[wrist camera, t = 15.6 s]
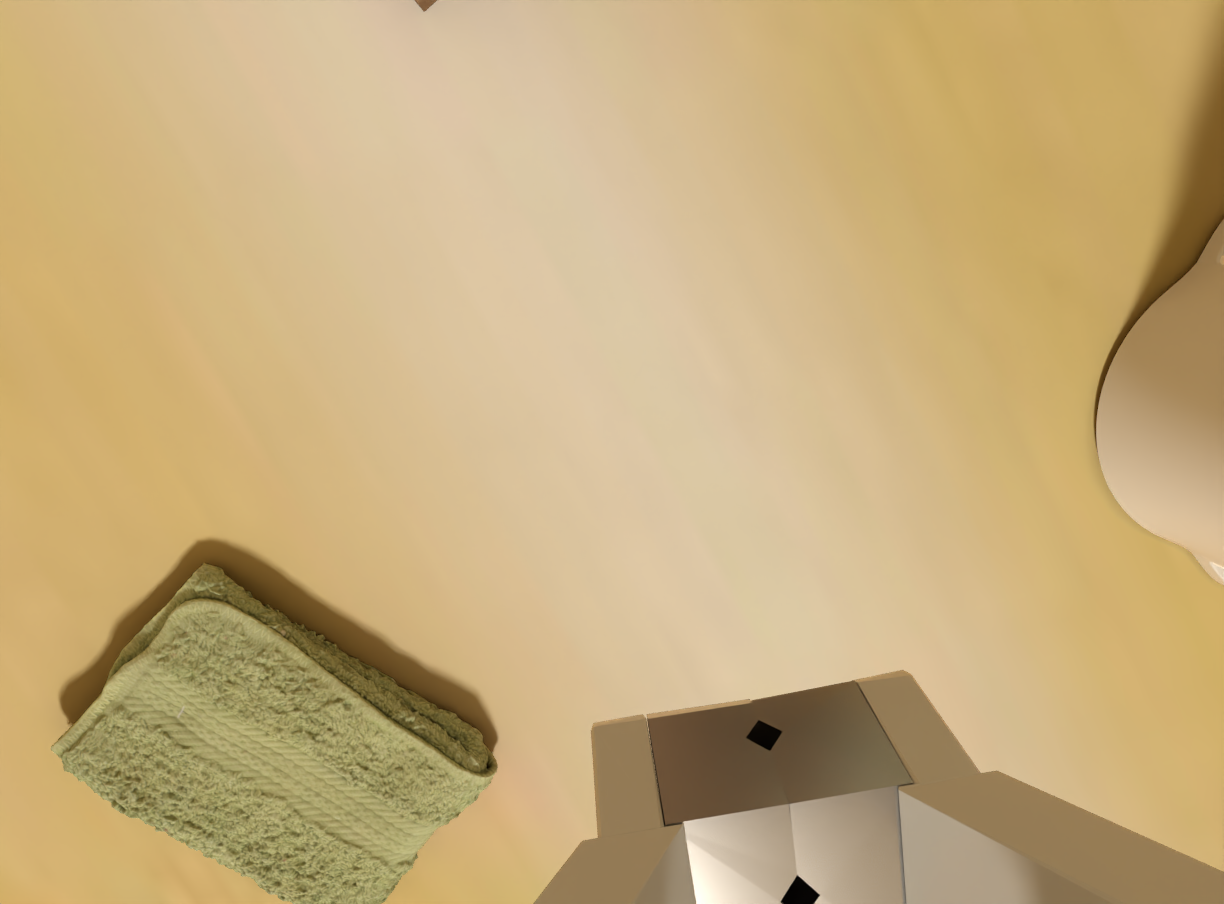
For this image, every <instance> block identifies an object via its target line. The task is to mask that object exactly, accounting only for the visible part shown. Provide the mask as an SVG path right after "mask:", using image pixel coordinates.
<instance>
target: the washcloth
mask: <svg viewBox="0 0 1224 904" xmlns="http://www.w3.org/2000/svg"><path fill="white" fill-rule="evenodd" d="M324 639H325V636H324V635H323V634H322V635H317V636H316V632H315V631H308V630H307V629H306V628H305V626H304V625H303V624H302V625H298V624H297V623H296V622H295V623H291V622H290V620H289V619H288V618H287V616H286V615H284V614H283V612H279V610H273V609H272V608H271V607H270V605H269V604H267V605H265V606H263V605H262V604H261V602H260V601H259V600H256V599H254V598H253V596H252V594H251V592H249V591H245V590H244V588H243V587H241V586H238V585H237V584H236V583H234V581H233V580H232V579H230V578H229V577H227V575H225V574H224V571H223V570H222V568H220V567H216V566H212V565H209V564H206V563H203V564H202V566H201V567H200V568H198V569H197V570H196V571H195V572H194V573H193V575H192V576H191V577H190V578H189V579H188V580H187V582H186V583H185V584H184V585H183V586H182V587H181V588H180V589H179V590H178V591H177V593H176V594H175V596H174V597H173V598H172V599H171V600H170V601H169V602H168V603H167V605H166V606H165V607H163V608H162V609H161V611H159V612H158V613H157V614H156V615H155V616H154V617H153V618H152V619H151V620H150V621H149V622H148V623H147V624H146V625H145V626H144V627H143V629H142V630H141V631H140V632H139V633H138V634H136V635H135V636H134V638H133V639H132V640H131V641H130V642H129V643H128V644H127V645H126V646H125V647H124V648H123V650H122V651H121V653H120V655H119V657H118V658H117V660H116V661H115V663H114V665H113V667H112V668H111V670H110V672H109V676H108V679H107V681H106V684H105V686H104V688H103V691H102V692H101V694H100V695H99V696H98V697H97V698H96V699H95V701H94V702H93V703H92V704H91V705H90V706H89V707H88V708H87V710H86V711H85V712H84V713H83V715H82V716H81V717H80V718H79V719H78V720H77V721H76V722H75V723H74V724H73V725H72V726H71V727H70V728H69V730H67V731H66V732H65V734H64V735H62V736H61V737H60V738H59V739H58V741H57V742H56V743H55V744H54V745H52V746H51V750H52V751H53V752H54V753H55V754H57V755H58V756H59V758H61V759H62V762H63V765H64V771H66V772H70V773H73V775H74V776H75V777H77V778H78V780H79V781H85V782H86V784H87V785H88V786H89V787H91V789H92V790H93V791H94V793H97V794H98V795H100V796H101V797H102V798H103V799H105V800H107V801H110V802H111V803H112V807H113V808H114V809H116V810H117V811H119V812H120V813H123V814H125V815H127V816H128V817H130V818H139V819H141V820H142V821H144V823H145V824H148V825H151V826H155V827H156V829H155V830H156V832H158V831H162V832H166V833H167V834H168V835H169V836H171V837H173V838H175V839H176V840H177V841H181V843H183V842H184V841H185V843H186V845H187V846H188V847H189V848H191V849H195V850H196V851H198V850H201V852H202V853H203V856H205V857H207V858H208V857H210V858H212V859H214V858H215V859H216V860H217V862H218V864H221V865H225V866H226V867H227V868H229V869H233V870H234V871H235V872H240V873H241V876H247V877H251V878H252V879H254V880H255V882H256V883H257V884H258V886H259V887H260V888H262V889H264V890H265V891H266V892H267V893H268V894H271V895H278V898H280V899H281V900H282V901H290V902H292V903H293V904H381V903H383V902H385V901H386V899H387V897H388V896H389V894H390V893H392V891H393V890H394V888H395V885H397V884H398V882H399V880H400V879H401V876H402V875H404V874H406V873H407V872H408V871H409V870H411V869H412V867H413V864H414V861H415V859H417V858H418V857H417V851H418V850H419V849H421V847H422V846H423V845H424V844H425V843H426V841H427V840H428V839H429V838H430V837H431V836H432V834H433V833H434V831H435V830H436V829H437V828H439V827H441V826H443V825H446V824H448V823H449V821H450V820H451V819H454V818H457V817H458V815H459V814H460V813H461V812H463V811H464V809H465V808H466V807H468V806H469V805H471V804H472V803H473V802H474V801H476V800H477V798H478V795H479V793H480V792H482V791H483V790H484V789H486V788H487V787H488V786H489V784H490V783H491V780H492V778H493V776H494V774H495V773H496V771H497V763H496V759H495V758H494V756H493V754H492V752H491V751H490V750H489V749H488V748H487V746H486V745H485V744H484V743H483V736H482V734H481V733H480V731H479V730H478V729H476V728H473V727H472V726H471V725H470V724H468V723H466V722H464V721H462V720H460V719H459V718H458V717H457V715H456V714H455V713H453V712H450V711H447V710H442V709H438V708H437V706H436V705H435V704H434V703H430V702H428V701H427V700H426V699H424V698H422V697H421V696H419V695H418V694H416V693H415V692H413V691H410V690H406V689H404V688H401V687H399V686H398V685H397V684H396V682H395V680H394V679H393V678H391V677H389V676H387V675H385V674H383V673H381V672H380V671H379V670H377V669H376V668H374V667H373V666H369V665H366V664H364V663H362V662H360V661H359V659H357V658H353V657H351V656H350V657H349V656H348V655H347V654H346V653H344V652H343V651H341V650H339V649H338V648H337V645H336V644H332V643H331V642H328V641H324Z"/></svg>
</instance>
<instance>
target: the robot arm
mask: <svg viewBox="0 0 1224 904" xmlns="http://www.w3.org/2000/svg"><path fill="white" fill-rule="evenodd" d="M1096 440H1097V450H1098V456H1099V461H1100V465H1101V469H1102V472H1103V475H1104V477H1105V480H1106V483H1107V485H1108V487H1109V489H1110V491H1111V492H1112V494H1113V496H1114V497H1115V499H1116V500H1117V502H1118V503H1119V505H1120V506H1121V507H1122V508H1123V509H1124V511H1125V512H1126V513H1127V514H1128V515H1129V516H1130V517H1131V518H1132V519H1133V520H1134V521H1136V522H1137V523H1138V524H1139V525H1141V526H1142V527H1143V528H1145V529H1147V530H1148V531H1150V532H1151V533H1153V534H1155V535H1157V536H1159V537H1162V538H1164V539H1166V540H1168V541H1171V542H1173V543H1175V544H1178V545H1180V546H1182V547H1184V548H1185V549H1187V550H1188V551H1190V552H1191V553H1192V554H1193V555H1194V557H1195V558H1196V559H1197V561H1198V562H1199V563H1200V565H1201V566H1202V567H1203V568H1204V570H1205V571H1206V572H1207V573H1208V574H1209V575H1210V576H1211V577H1212V578H1213V579H1214V580H1215V581H1217V582H1218V583H1220V584H1222V585H1224V219H1223V220H1222V222H1221V223H1220V224H1219V226H1218V227H1217V229H1216V230H1215V232H1214V233H1213V235H1212V237H1211V238H1210V240H1209V242H1208V244H1207V245H1206V247H1205V249H1204V251H1203V252H1202V254H1201V256H1200V258H1199V260H1198V261H1197V263H1196V264H1195V265H1194V266H1193V267H1192V268H1191V270H1190V271H1189V272H1188V273H1187V274H1186V275H1185V276H1184V277H1182V278H1181V279H1180V280H1179V281H1178V282H1177V283H1176V284H1174V285H1173V286H1172V287H1171V288H1170V289H1169V290H1167V291H1166V292H1165V293H1164V294H1163V295H1162V296H1160V297H1159V298H1158V299H1157V300H1156V301H1155V302H1154V303H1153V304H1152V305H1151V306H1150V307H1149V308H1148V309H1147V310H1146V311H1145V313H1144V314H1143V315H1142V316H1141V317H1140V318H1139V320H1138V321H1137V322H1136V323H1135V325H1134V326H1133V327H1132V329H1131V330H1130V332H1129V333H1128V334H1127V336H1126V337H1125V339H1124V341H1123V342H1122V344H1121V346H1120V347H1119V349H1118V351H1117V353H1116V355H1115V357H1114V359H1113V361H1112V363H1111V365H1110V368H1109V370H1108V373H1107V375H1106V378H1105V381H1104V384H1103V388H1102V391H1101V396H1100V400H1099V405H1098V411H1097V422H1096ZM647 721H648V727H647ZM647 721H646V718H645V717H644V715H643V714H642V715H636V716H630V717H625V718H619V719H614V720H608V721H602V722H597V723H593V726H592V730H591V738H592V754H593V770H594V785H595V801H596V816H597V832H598V838H596V839H590V840H585V841H582V842H581V843H580V844H579V846H578V847H577V848H576V849H575V851H574V852H573V853H572V855H571V856H570V857H569V858H568V860H567V861H566V862H565V864H564V865H563V866H562V867H561V869H560V870H559V871H558V873H557V874H556V875H555V876H554V878H553V879H552V880H551V882H550V883H549V884H548V886H547V887H546V888H545V889H544V891H543V892H542V893H541V895H540V896H539V897H538V898H537V900H536V901H535V902H534V904H1224V872H1223V871H1220V870H1218V869H1216V868H1214V867H1212V866H1209V865H1207V864H1205V863H1203V862H1200V861H1198V860H1196V859H1194V858H1191V857H1189V856H1187V855H1185V854H1182V853H1180V852H1178V851H1176V850H1173V849H1171V848H1169V847H1167V846H1165V845H1162V844H1160V843H1158V842H1156V841H1153V840H1151V839H1149V838H1147V837H1144V836H1142V835H1140V834H1138V833H1135V832H1133V831H1131V830H1129V829H1126V828H1124V827H1122V826H1120V825H1117V824H1115V823H1113V822H1111V821H1109V820H1106V819H1104V818H1102V817H1100V816H1097V815H1095V814H1093V813H1091V812H1088V811H1086V810H1084V809H1082V808H1079V807H1077V806H1075V805H1073V804H1070V803H1068V802H1066V801H1064V800H1062V799H1059V798H1057V797H1055V796H1053V795H1050V794H1048V793H1046V792H1044V791H1041V790H1039V789H1037V788H1035V787H1032V786H1030V785H1028V784H1026V783H1023V782H1021V781H1019V780H1017V779H1015V778H1012V777H1010V776H1008V775H1006V774H1003V773H1001V772H999V771H992V772H986V773H980V771H979V770H978V769H977V767H976V766H975V764H974V763H973V761H972V760H971V759H970V757H969V756H968V754H967V753H966V752H965V750H964V749H963V747H962V746H961V744H960V743H959V742H958V740H957V739H956V737H955V736H954V734H953V733H952V732H951V730H950V729H949V727H948V726H947V724H946V723H945V722H944V720H943V719H942V717H941V716H940V715H939V713H938V712H937V710H936V709H935V707H934V706H933V705H932V703H931V702H930V700H929V699H928V697H927V696H926V695H925V693H924V692H923V690H922V689H921V687H920V686H919V685H918V683H917V682H916V680H915V679H914V678H913V676H912V675H911V674H910V673H908V672H906V671H904V670H900V671H896V672H891V673H886V674H881V675H876V676H871V677H866V678H862V679H857V680H852V681H850V682H845V683H840V684H834V685H829V686H824V687H819V688H813V689H808V690H803V691H798V692H793V693H787V694H782V695H777V696H772V697H766V698H761V699H756V700H750V699H746V700H740V701H733V702H726V703H719V704H712V705H706V706H699V707H692V708H685V709H678V710H672V711H665V712H658V713H651V714H647ZM648 728H649V733H648ZM649 734H650V738H649ZM650 740H651V744H650ZM651 747H652V750H651ZM652 753H653V756H652ZM653 759H654V762H653ZM654 765H655V767H654ZM655 771H656V773H655ZM656 777H657V779H656ZM657 783H658V785H657ZM658 789H659V791H658Z"/></svg>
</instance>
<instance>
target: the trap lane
mask: <svg viewBox="0 0 1224 904" xmlns="http://www.w3.org/2000/svg"><path fill="white" fill-rule="evenodd" d="M415 1H416V2H417V4H418V5H419V6H420V7H421V8H422V10H423V11H424V12H425V11H426V10H427V9H428V8H429V7H430V6H431V5H432V4H433V3H434V2H436V1H437V0H415Z"/></svg>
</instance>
